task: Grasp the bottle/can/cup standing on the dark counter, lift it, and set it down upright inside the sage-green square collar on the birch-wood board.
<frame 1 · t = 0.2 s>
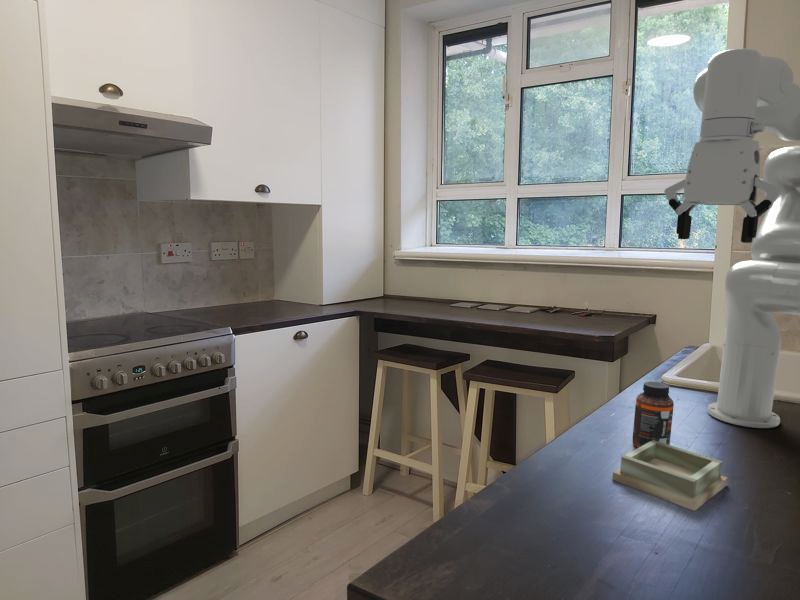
hand: (713, 240, 96), 36 cm above the countertop, tool pointing down, fingers open, 9 cm apart
socket board: (669, 482, 88), on the countertop
supplement bottle: (650, 448, 101), on the countertop
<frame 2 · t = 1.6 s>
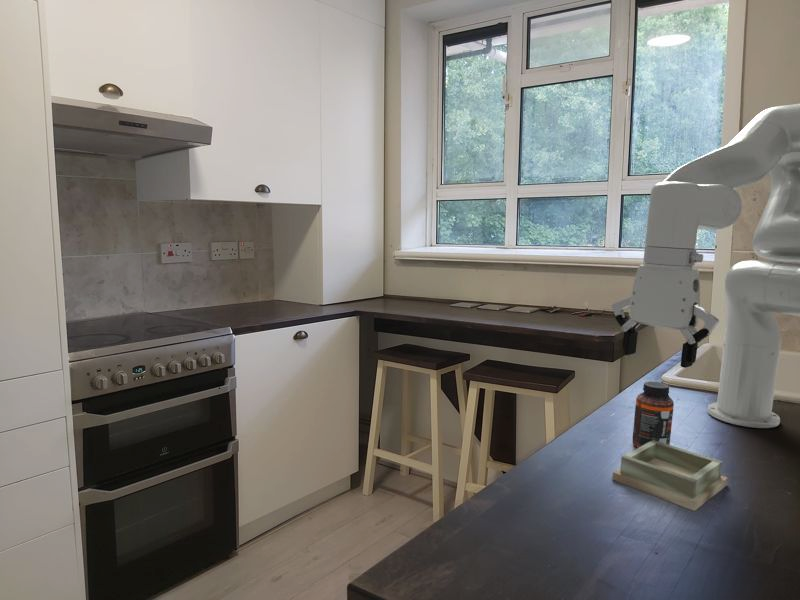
hand: (656, 360, 99), 16 cm above the countertop, tool pointing down, fingers open, 9 cm apart
nothing on the countertop moved.
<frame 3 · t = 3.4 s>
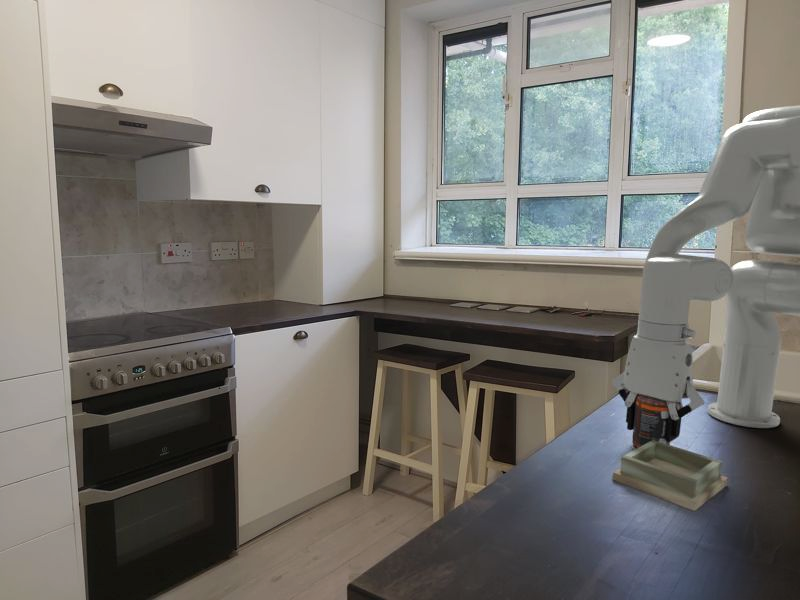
hand: (651, 432, 101), 3 cm above the countertop, tool pointing down, fingers closed on supplement bottle, 6 cm apart
supplement bottle: (650, 448, 101), on the countertop, touching gripper
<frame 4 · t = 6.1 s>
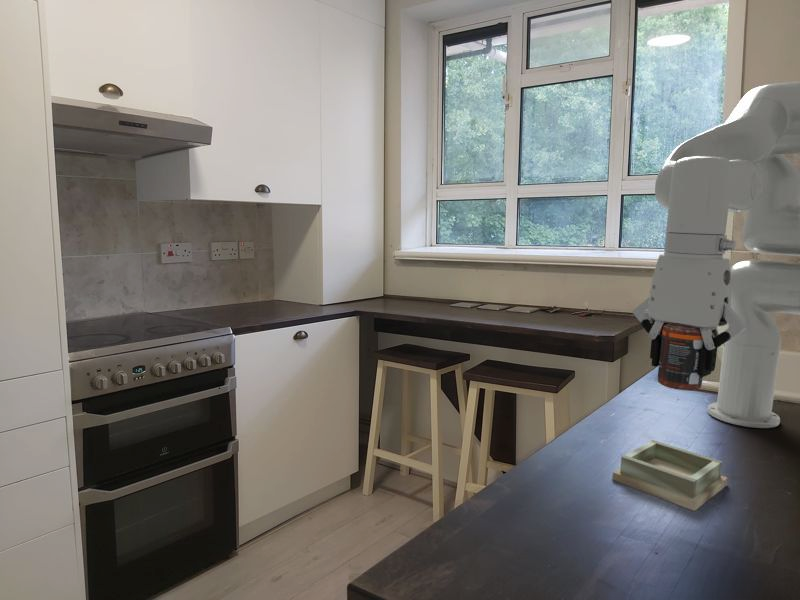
hand: (680, 368, 86), 18 cm above the countertop, tool pointing down, fingers closed on supplement bottle, 6 cm apart
supplement bottle: (678, 387, 86), point 15 cm above the countertop, touching gripper
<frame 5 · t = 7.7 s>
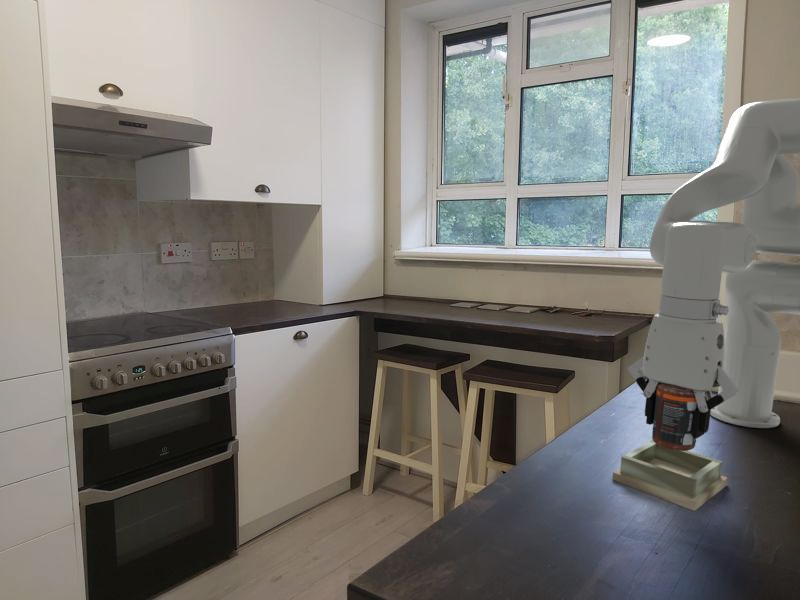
hand: (674, 427, 87), 9 cm above the countertop, tool pointing down, fingers closed on supplement bottle, 6 cm apart
supplement bottle: (672, 445, 87), point 6 cm above the countertop, touching gripper
when the fingers open (5 cm above the countertop, at t = 8.8 s): supplement bottle drops 2 cm, resting on socket board.
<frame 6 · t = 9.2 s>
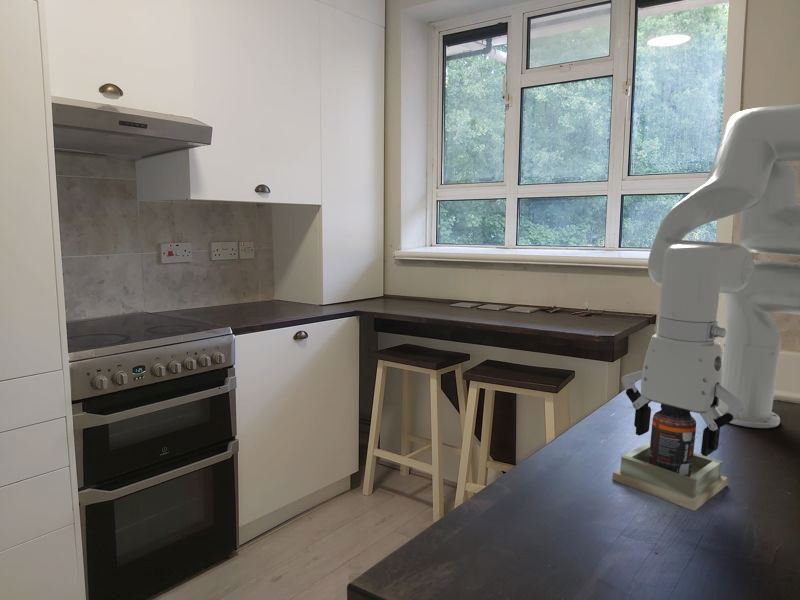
hand: (673, 442, 87), 6 cm above the countertop, tool pointing down, fingers open, 9 cm apart
supplement bottle: (669, 474, 88), point 1 cm above the countertop, touching socket board
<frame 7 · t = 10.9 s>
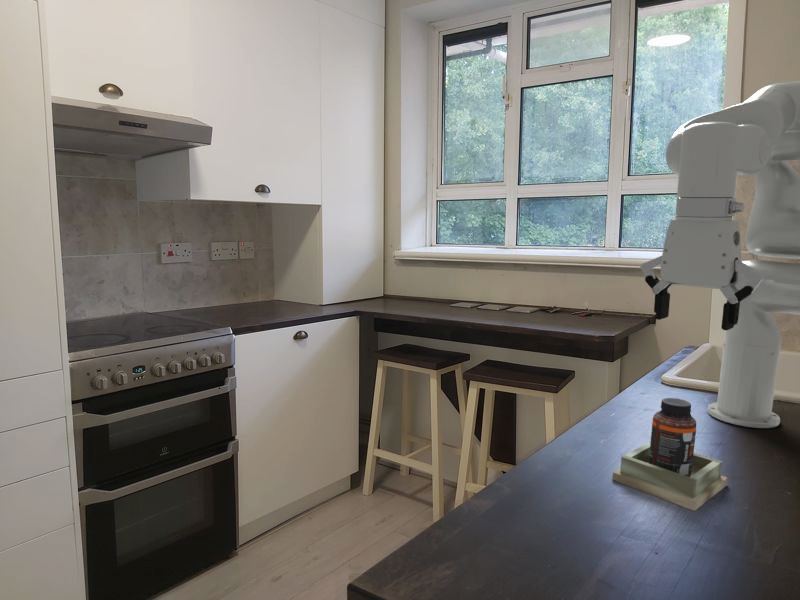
hand: (693, 323, 89), 24 cm above the countertop, tool pointing down, fingers open, 9 cm apart
nothing on the countertop moved.
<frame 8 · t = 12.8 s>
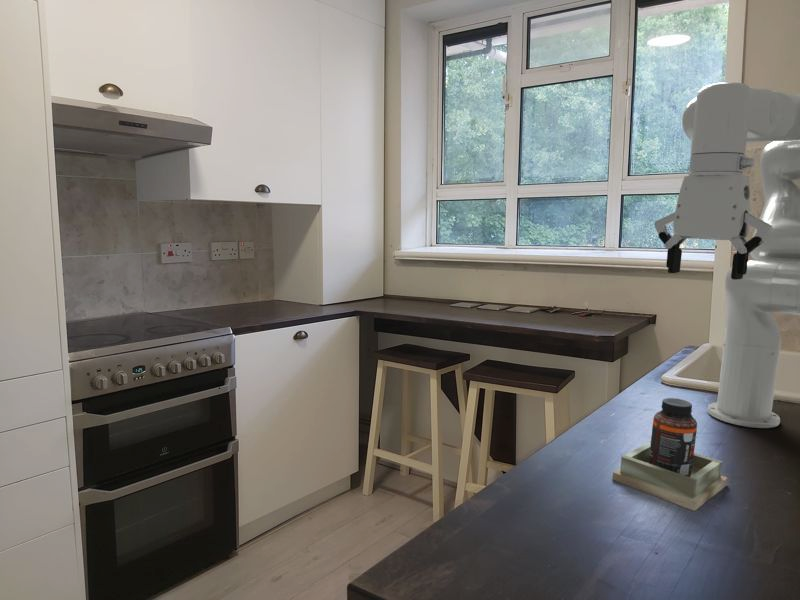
hand: (704, 275, 94), 30 cm above the countertop, tool pointing down, fingers open, 9 cm apart
nothing on the countertop moved.
at the end: supplement bottle 0.3 cm off-centre on the socket board, point 1.0 cm above the socket board's base; supplement bottle tilted 0°; the gripper is holding nothing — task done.
